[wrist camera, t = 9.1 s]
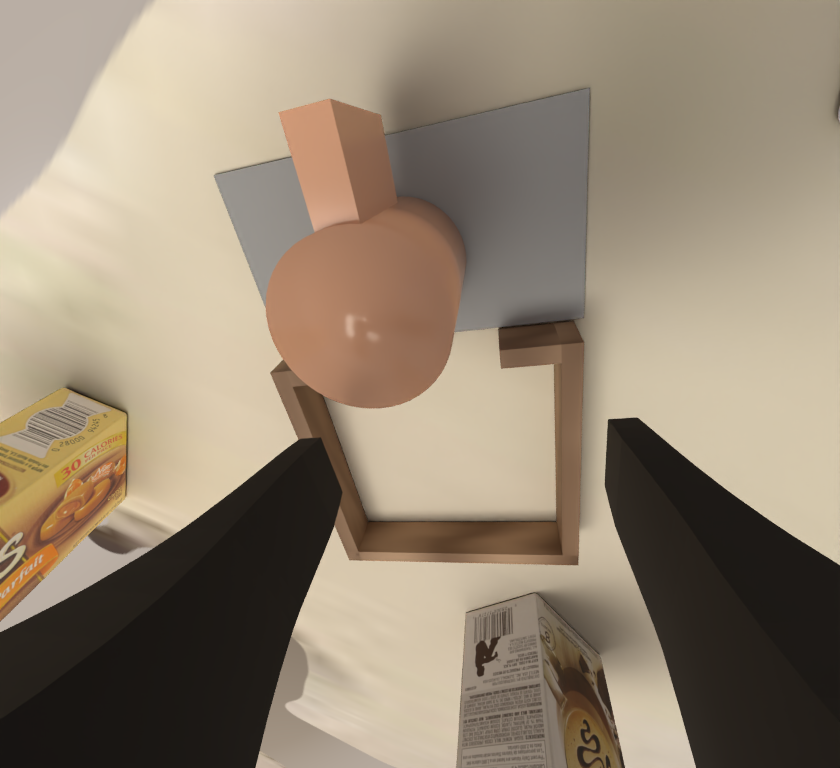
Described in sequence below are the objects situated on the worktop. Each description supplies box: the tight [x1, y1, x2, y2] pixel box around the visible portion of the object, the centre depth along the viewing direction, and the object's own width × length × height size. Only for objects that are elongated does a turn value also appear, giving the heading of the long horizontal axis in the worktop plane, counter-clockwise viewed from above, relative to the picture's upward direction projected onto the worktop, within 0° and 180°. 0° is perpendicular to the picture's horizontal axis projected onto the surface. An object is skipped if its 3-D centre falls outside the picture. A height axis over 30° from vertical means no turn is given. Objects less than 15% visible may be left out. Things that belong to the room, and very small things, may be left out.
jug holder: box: [271, 321, 584, 565], centre depth 20 cm, size 13×13×2 cm
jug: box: [266, 99, 467, 408], centre depth 13 cm, size 7×5×7 cm
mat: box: [214, 88, 590, 332], centre depth 16 cm, size 14×8×1 cm, turn 101°
